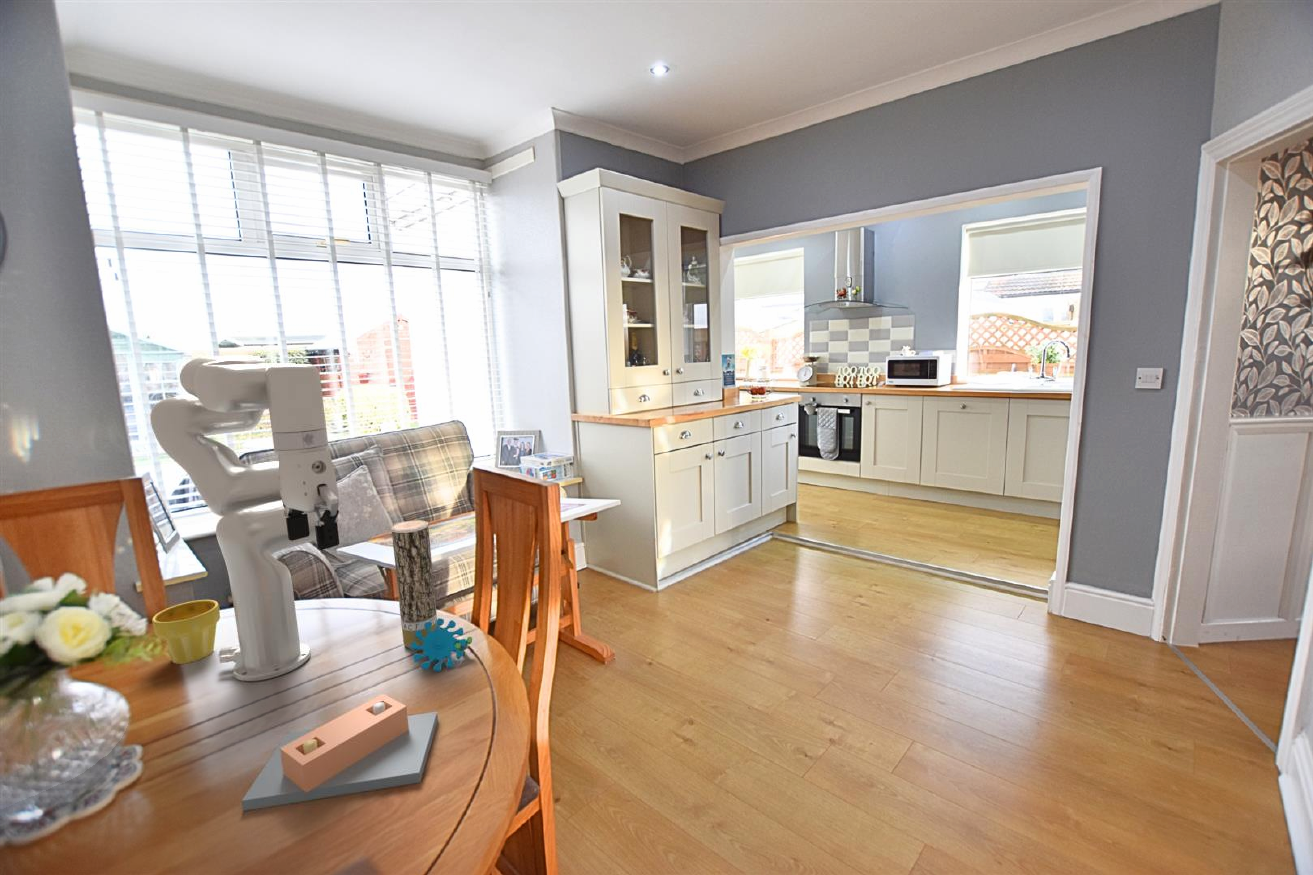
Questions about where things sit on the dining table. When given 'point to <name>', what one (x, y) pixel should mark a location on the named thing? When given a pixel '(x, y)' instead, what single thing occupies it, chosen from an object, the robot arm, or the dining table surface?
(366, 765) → the slate board
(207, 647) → the plant pot
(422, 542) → the bark log
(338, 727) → the holed bar
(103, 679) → the dining table surface
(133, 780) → the dining table surface
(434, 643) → the blue virus model
